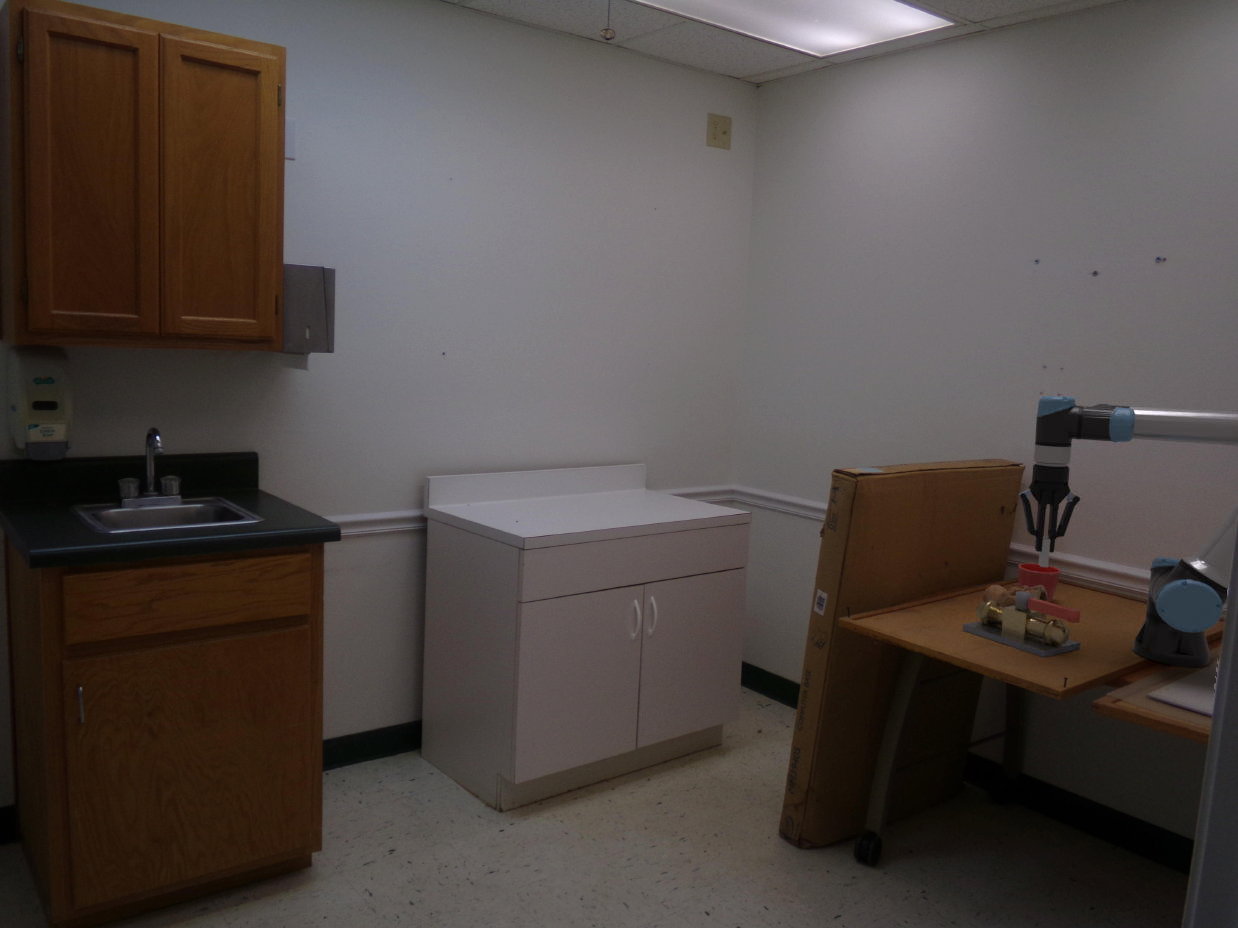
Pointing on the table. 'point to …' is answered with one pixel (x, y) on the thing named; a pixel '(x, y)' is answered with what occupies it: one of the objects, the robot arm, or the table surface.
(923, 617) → the table surface
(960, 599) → the table surface
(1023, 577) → the flower pot
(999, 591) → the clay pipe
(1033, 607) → the lever
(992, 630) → the valve
